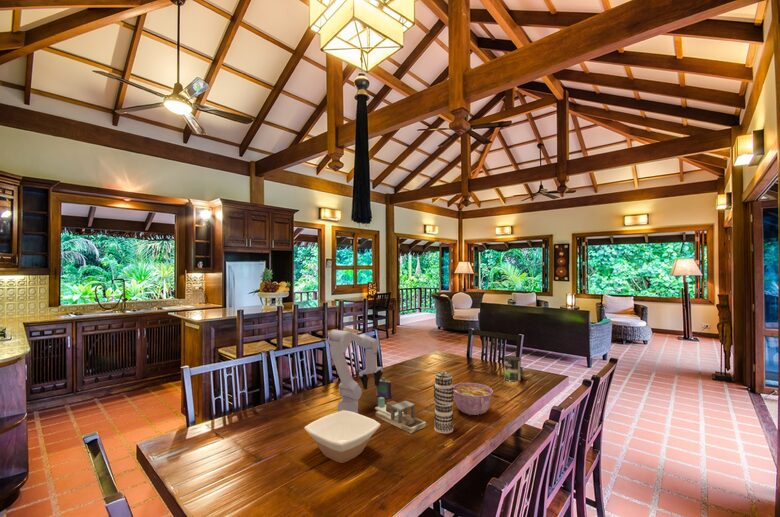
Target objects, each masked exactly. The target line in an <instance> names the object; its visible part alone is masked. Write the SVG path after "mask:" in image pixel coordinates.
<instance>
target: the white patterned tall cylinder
mask: <svg viewBox="0 0 780 517" xmlns="http://www.w3.org/2000/svg"><path fill="white" fill-rule="evenodd" d="M434 380H435V382H434V385H433V389H434V390H433V397H434V398H433V399H434V400H433V402H434V404H435V405H434V406H435V408H434V414H433V415H434V417H433V418H434V421H433V423H434V425H433V426H434V428H433V429H434V430H435V432H436V433H439V434H445V435H446V434H450V433H453V431H454V413H453V412H454V411H453V410H454V409H453V405H454V402H455V399H454V394H453V393H454V391H453V390H454V388H453V386H454V384H453V376H452V374H450V372H448V371H438V372H437V373H436V374H435V375H434Z"/></svg>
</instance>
